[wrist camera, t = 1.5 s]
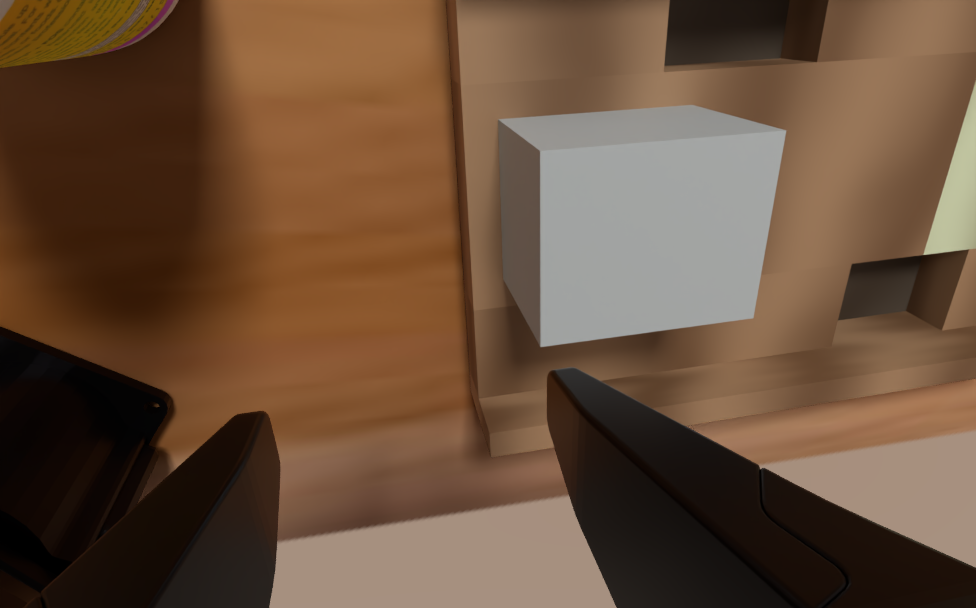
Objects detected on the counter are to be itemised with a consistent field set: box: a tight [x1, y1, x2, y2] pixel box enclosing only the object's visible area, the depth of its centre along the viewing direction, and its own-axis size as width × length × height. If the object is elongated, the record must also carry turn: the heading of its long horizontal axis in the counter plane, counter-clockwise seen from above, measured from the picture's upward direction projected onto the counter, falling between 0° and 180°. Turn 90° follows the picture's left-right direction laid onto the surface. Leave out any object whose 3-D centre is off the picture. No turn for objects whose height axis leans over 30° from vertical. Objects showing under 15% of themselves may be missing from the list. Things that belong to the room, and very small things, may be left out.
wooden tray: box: [446, 0, 976, 458], centre depth 20 cm, size 24×16×5 cm, turn 92°
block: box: [498, 105, 786, 347], centre depth 17 cm, size 6×5×4 cm
